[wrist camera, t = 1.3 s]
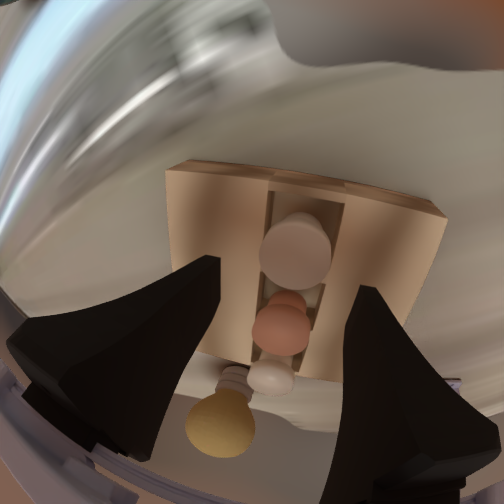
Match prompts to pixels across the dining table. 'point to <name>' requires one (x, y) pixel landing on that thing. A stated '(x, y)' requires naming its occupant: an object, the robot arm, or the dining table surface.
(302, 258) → the plug near
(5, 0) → the vase
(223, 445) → the light bulb
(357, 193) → the socket board
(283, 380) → the plug far
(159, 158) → the dining table surface
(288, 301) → the plug mid
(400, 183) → the dining table surface
